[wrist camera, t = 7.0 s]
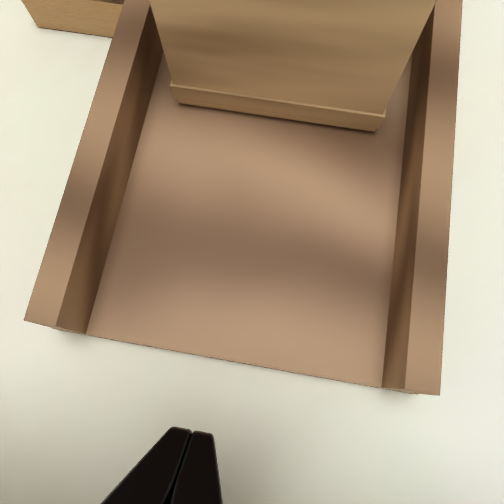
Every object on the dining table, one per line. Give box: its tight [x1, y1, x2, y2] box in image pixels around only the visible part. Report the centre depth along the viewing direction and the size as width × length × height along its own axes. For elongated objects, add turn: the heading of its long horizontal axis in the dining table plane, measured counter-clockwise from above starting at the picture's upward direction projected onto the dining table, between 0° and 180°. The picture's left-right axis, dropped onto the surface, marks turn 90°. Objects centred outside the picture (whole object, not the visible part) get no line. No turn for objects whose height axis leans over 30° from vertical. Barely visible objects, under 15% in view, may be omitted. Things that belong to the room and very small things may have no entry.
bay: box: [24, 0, 463, 395], centre depth 16 cm, size 20×13×7 cm, turn 170°
